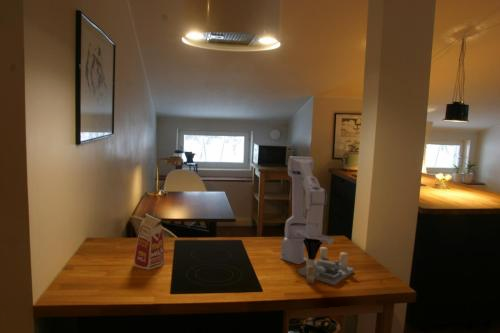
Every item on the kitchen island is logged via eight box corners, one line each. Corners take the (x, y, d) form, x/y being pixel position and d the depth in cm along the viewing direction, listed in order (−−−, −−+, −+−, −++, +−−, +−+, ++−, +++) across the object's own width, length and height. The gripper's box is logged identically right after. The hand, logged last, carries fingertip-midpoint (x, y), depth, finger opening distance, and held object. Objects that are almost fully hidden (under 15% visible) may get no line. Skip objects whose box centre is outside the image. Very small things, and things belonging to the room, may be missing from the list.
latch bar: (341, 267, 141) (341, 263, 141) (339, 270, 139) (340, 265, 139) (318, 263, 145) (318, 258, 145) (316, 265, 143) (316, 260, 143)
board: (298, 273, 143) (299, 254, 142) (319, 261, 156) (320, 244, 155) (334, 285, 133) (335, 265, 132) (353, 272, 146) (354, 253, 146)
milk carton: (133, 265, 143) (133, 215, 140) (149, 258, 151) (150, 210, 149) (150, 270, 138) (151, 219, 136) (167, 263, 147) (168, 214, 144)
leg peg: (304, 282, 135) (305, 266, 134) (308, 279, 137) (309, 264, 136) (311, 284, 133) (312, 268, 132) (315, 282, 135) (316, 266, 134)
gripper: (291, 220, 134) (289, 256, 135) (327, 228, 125) (324, 267, 126) (301, 217, 139) (299, 251, 141) (336, 224, 130) (334, 261, 132)
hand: (311, 258), depth 134 cm, fingers closed
